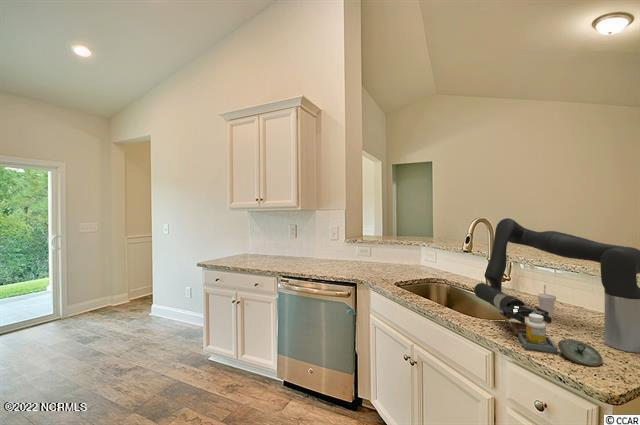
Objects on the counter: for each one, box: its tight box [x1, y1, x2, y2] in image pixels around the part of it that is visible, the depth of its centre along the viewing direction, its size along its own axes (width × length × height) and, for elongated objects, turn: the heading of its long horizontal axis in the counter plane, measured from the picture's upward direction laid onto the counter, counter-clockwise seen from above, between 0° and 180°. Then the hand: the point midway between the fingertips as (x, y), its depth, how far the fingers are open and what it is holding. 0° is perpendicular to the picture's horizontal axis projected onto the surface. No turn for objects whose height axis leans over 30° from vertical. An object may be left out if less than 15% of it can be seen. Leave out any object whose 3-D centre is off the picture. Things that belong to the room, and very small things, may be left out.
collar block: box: [510, 321, 526, 336], centre depth 112 cm, size 8×8×2 cm
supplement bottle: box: [525, 313, 547, 346], centre depth 101 cm, size 5×5×10 cm
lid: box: [557, 338, 603, 367], centre depth 92 cm, size 11×10×5 cm
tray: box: [518, 333, 559, 355], centre depth 101 cm, size 9×9×2 cm
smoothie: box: [536, 284, 557, 321], centre depth 125 cm, size 6×6×14 cm
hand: (537, 320), depth 100 cm, fingers open, 8 cm apart
